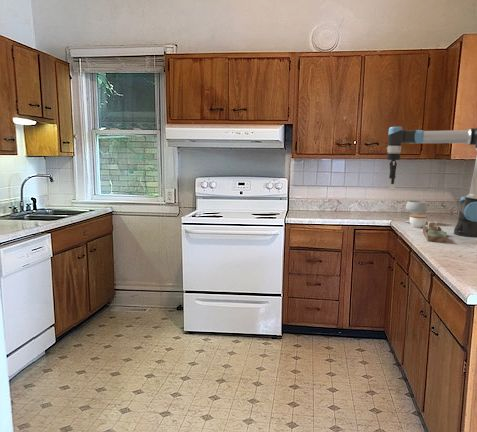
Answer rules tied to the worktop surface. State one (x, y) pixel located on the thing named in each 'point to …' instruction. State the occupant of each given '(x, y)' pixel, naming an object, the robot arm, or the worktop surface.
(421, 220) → the lidded jar
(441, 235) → the two-trap track
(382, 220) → the worktop surface
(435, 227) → the birch block
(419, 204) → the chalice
